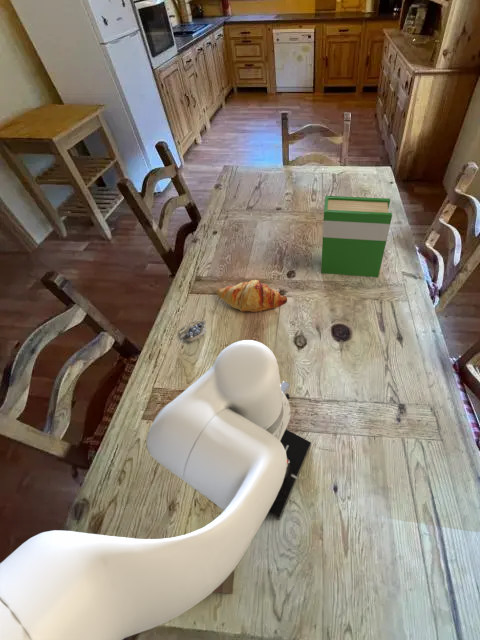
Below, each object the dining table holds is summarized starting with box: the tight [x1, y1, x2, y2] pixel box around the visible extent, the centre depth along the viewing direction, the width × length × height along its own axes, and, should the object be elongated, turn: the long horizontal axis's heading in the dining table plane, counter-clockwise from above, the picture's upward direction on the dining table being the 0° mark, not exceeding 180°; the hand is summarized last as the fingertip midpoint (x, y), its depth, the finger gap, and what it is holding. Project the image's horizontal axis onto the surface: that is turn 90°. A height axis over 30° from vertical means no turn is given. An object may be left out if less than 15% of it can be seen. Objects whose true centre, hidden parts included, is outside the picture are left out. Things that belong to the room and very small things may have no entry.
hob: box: [268, 428, 312, 521], centre depth 70 cm, size 14×18×3 cm
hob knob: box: [284, 459, 290, 478], centre depth 65 cm, size 4×2×5 cm, turn 63°
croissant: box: [216, 279, 288, 313], centre depth 98 cm, size 21×10×8 cm, turn 80°
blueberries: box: [178, 319, 207, 344], centre depth 93 cm, size 7×8×2 cm
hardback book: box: [320, 195, 393, 278], centre depth 100 cm, size 18×7×24 cm, turn 83°
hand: (266, 448), depth 58 cm, fingers open, 9 cm apart
